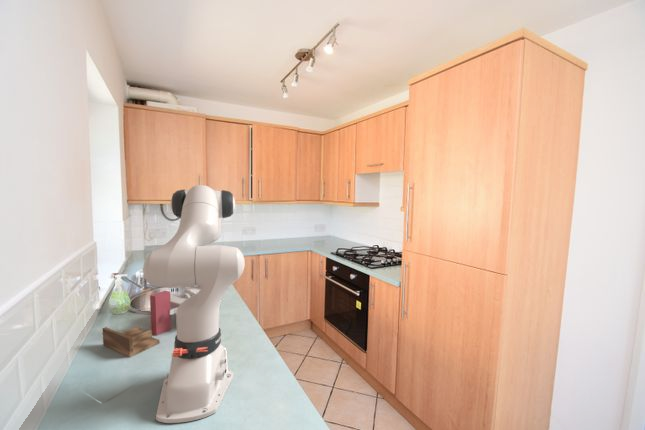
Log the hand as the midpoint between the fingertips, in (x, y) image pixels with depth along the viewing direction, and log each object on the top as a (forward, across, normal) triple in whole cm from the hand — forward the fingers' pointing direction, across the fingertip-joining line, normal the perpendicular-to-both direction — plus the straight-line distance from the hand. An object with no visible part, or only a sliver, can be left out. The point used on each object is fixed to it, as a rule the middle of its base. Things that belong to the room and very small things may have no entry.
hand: (160, 310), depth 109 cm
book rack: (+11, 0, +8) cm, 14 cm away
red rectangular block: (0, 0, +8) cm, 8 cm away
